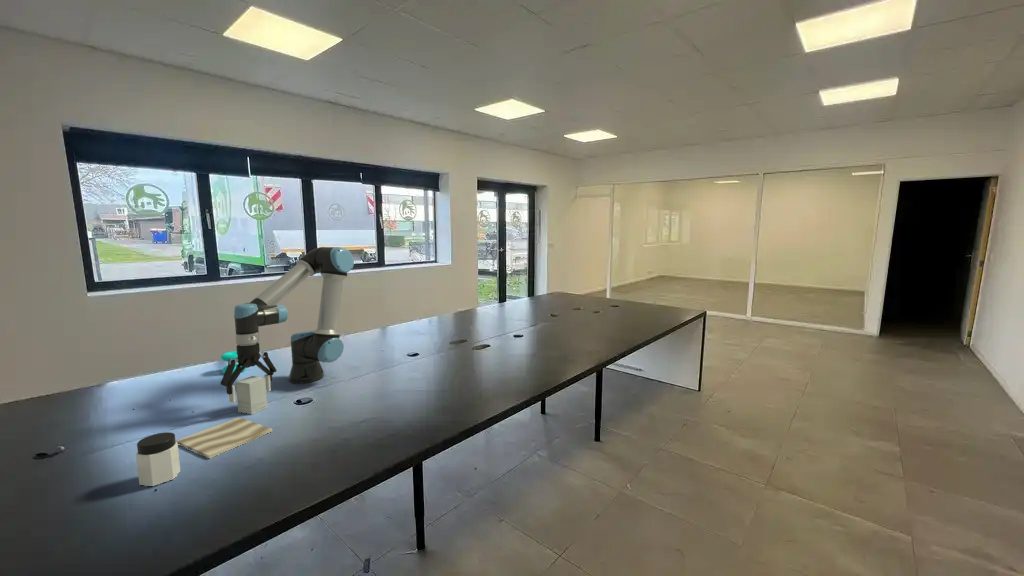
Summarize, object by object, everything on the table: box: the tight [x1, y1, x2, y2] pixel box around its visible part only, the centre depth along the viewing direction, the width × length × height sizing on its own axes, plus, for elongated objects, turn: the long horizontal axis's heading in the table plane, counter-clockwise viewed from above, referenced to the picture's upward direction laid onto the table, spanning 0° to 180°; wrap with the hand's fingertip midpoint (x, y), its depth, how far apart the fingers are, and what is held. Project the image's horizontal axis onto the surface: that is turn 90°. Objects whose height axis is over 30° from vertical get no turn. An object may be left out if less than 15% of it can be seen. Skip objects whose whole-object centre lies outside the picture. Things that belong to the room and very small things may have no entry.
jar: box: [135, 431, 181, 486], centre depth 115 cm, size 9×8×12 cm
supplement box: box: [235, 375, 269, 415], centre depth 161 cm, size 7×7×13 cm
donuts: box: [220, 350, 247, 374], centre depth 206 cm, size 10×10×10 cm
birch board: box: [175, 417, 273, 459], centre depth 139 cm, size 20×20×1 cm
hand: (250, 396), depth 161 cm, fingers open, 13 cm apart
